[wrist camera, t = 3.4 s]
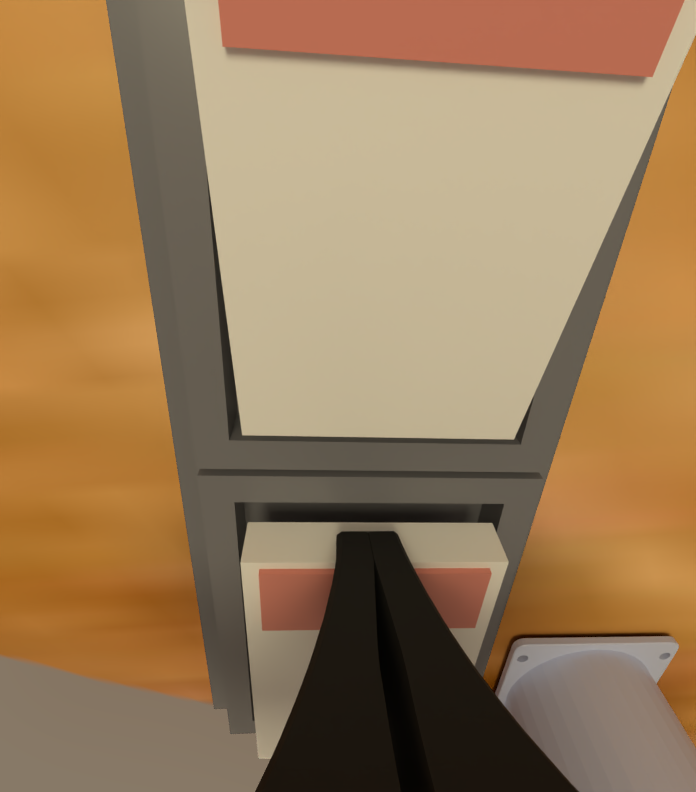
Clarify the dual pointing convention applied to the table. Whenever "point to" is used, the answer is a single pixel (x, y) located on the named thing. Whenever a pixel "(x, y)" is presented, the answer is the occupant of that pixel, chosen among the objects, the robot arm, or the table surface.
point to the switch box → (299, 455)
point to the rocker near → (416, 195)
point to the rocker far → (310, 587)
